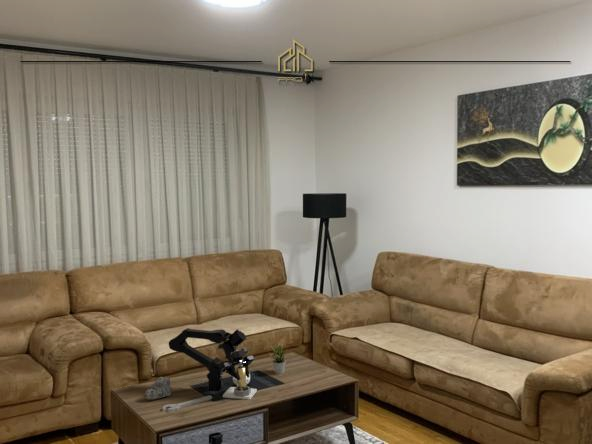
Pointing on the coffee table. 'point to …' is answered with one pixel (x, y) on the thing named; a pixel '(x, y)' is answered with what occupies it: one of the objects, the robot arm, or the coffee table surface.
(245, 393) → the pipe plate
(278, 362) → the house plant
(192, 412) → the coffee table surface
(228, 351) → the robot arm
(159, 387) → the mineral rock
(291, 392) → the coffee table surface
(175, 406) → the adjustable wrench
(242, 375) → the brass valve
